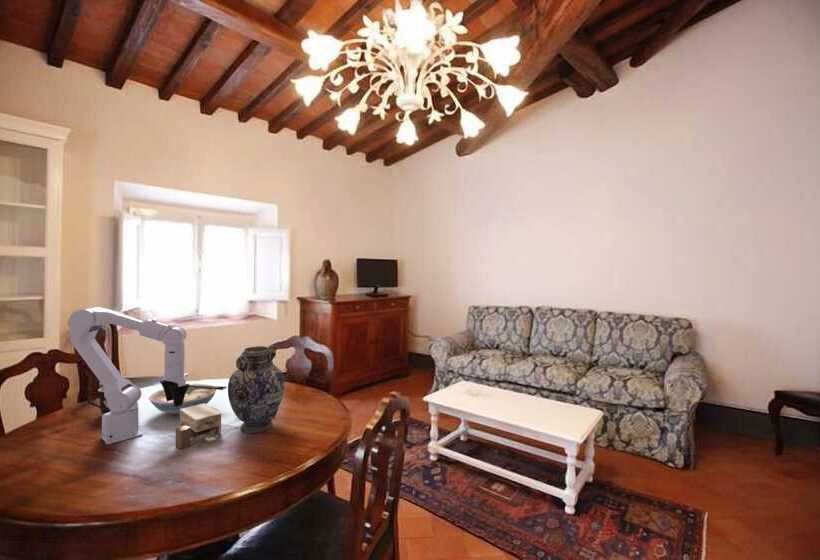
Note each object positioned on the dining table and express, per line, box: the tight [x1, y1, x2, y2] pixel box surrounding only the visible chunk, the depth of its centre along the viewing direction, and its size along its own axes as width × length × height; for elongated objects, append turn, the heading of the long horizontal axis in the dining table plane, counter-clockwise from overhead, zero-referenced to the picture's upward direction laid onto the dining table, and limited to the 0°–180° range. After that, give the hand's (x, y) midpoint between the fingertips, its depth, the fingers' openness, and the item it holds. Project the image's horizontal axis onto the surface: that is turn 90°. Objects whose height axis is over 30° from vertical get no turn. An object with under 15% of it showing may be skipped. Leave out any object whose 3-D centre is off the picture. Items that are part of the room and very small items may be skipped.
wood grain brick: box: [175, 426, 217, 451], centre depth 123 cm, size 12×3×6 cm, turn 154°
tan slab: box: [179, 403, 222, 435], centre depth 130 cm, size 8×15×7 cm, turn 49°
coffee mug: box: [86, 386, 111, 416], centre depth 144 cm, size 12×9×10 cm
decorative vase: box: [227, 344, 285, 434], centre depth 134 cm, size 21×19×28 cm
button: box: [204, 433, 220, 443], centre depth 124 cm, size 4×4×1 cm
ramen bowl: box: [148, 383, 227, 416], centre depth 148 cm, size 25×23×8 cm
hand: (174, 402), depth 129 cm, fingers open, 7 cm apart
